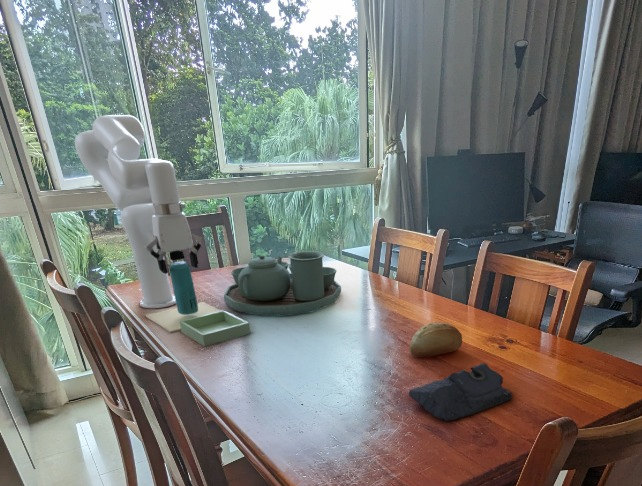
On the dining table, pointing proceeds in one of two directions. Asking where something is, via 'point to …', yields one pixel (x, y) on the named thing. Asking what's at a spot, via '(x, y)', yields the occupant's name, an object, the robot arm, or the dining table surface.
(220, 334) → the tray
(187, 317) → the mat
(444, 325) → the bread roll
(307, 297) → the tea set
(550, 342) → the dining table surface
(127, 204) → the robot arm
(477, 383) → the folded black shirt
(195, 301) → the beverage bottle
